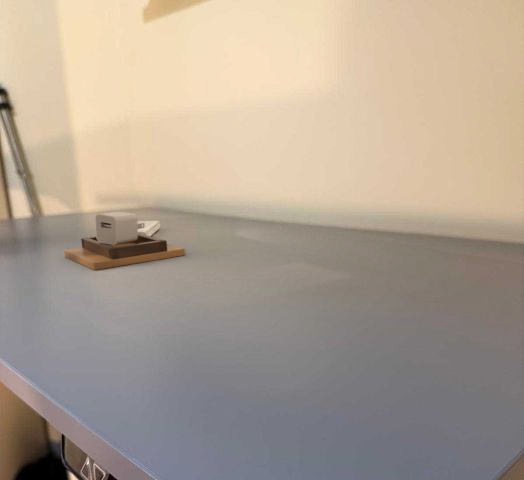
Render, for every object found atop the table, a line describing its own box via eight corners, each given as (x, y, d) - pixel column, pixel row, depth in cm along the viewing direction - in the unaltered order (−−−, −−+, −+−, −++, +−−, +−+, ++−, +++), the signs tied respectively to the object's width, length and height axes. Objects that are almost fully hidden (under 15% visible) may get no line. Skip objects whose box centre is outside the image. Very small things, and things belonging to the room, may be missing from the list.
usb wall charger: (96, 241, 78) (95, 213, 77) (129, 235, 84) (128, 209, 82) (117, 245, 76) (116, 216, 75) (149, 239, 82) (149, 212, 81)
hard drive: (117, 221, 104) (98, 232, 92) (159, 220, 104) (145, 230, 92) (118, 230, 104) (99, 241, 93) (160, 229, 104) (147, 240, 93)
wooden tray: (64, 257, 81) (62, 240, 80) (149, 244, 89) (147, 229, 88) (94, 270, 72) (92, 251, 72) (185, 255, 80) (184, 238, 79)
